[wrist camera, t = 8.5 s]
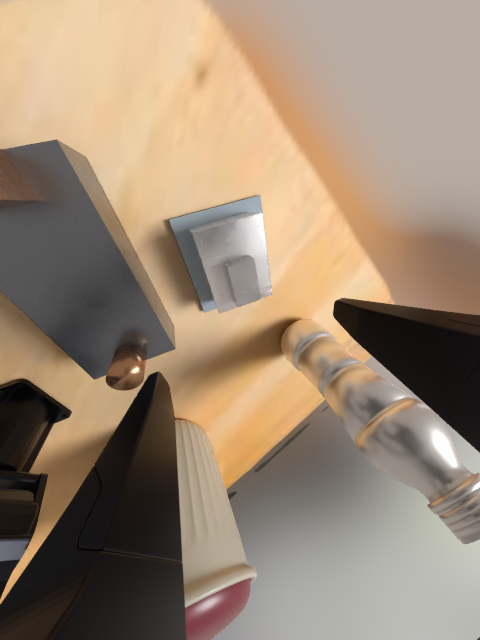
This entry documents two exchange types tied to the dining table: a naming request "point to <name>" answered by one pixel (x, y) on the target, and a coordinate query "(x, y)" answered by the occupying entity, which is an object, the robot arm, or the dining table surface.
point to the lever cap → (234, 259)
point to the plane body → (76, 265)
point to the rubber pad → (187, 247)
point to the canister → (208, 539)
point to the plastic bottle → (389, 426)
